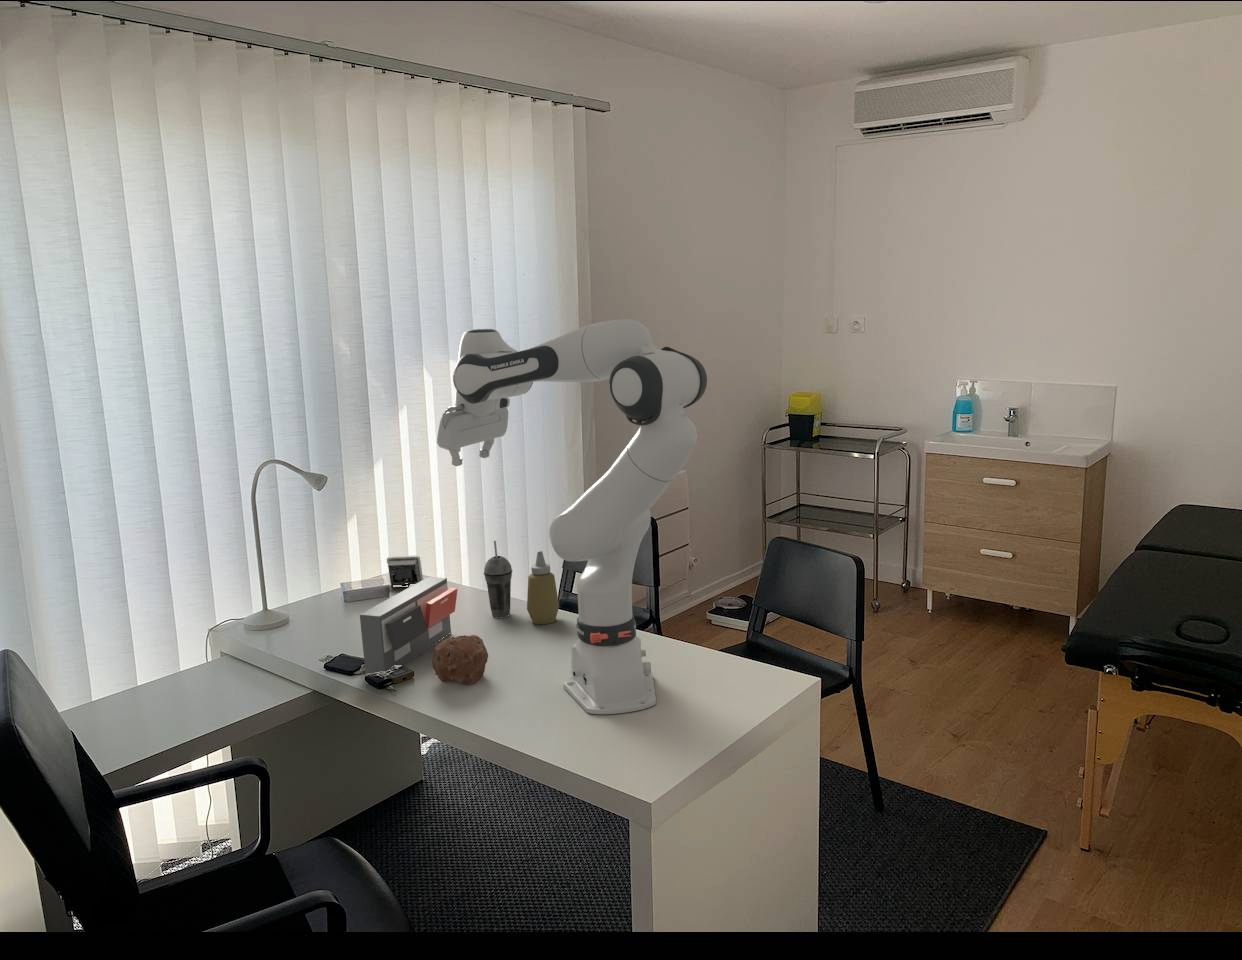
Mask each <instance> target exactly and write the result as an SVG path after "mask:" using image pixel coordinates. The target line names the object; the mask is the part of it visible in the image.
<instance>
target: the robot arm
mask: <svg viewBox="0 0 1242 960" xmlns="http://www.w3.org/2000/svg"><path fill="white" fill-rule="evenodd" d="M455 365H456V366H455V368H454V371H453V375H452V380H453V385H454V388H455V396H454V397H455V399H454V405H453V406H448V407H447V408H446V410H445V411H444V412H443V413H442V416H441V418H440V421H439V426H438V430H437V437H436V438H437V439H436V443H437V446H438V447H439V448H441V449H444V450H447V451H448V452H449V454H450V456H451V465H452V466H453V467H459V466H462V465H463V459H464V458H463V457H461V455H460V452H461V448H464V447H466V446H471V445H474V444H479V443H483V445H482V446H481V447H482V448H480V449H479V454H478V455H479V457H480V458H481V459H488V458H489V457H490V454H491V453H490V452H491V449H492V447H493V446H494V443H495V439H497V438H501V437H504V436H505V434H506V432H507V429H508V424H509V423H508V422H509V408H508V407H510V403H511V400H510V398H513V397H517V396H521V395H524V394H526V393H528V392H529V391H530V389H532V386H533V384H534V382H535V383H537V382H553V383H554V382H563V383H592V382H593V383H594V382H601V381H607V380H609V381H608V382H609V383H608V387H609V392H610V395H611V399H612V400H613V402H614V403H615V406H617V408H618V409H619V410H620V411H621V412H622V413H623V414H624V415H625V417H626V419H627V420H628V422H630V423H631V424H633V425H635V426H639V428H638V430H637V431H636V432H635V434H634V436H633V437H632V438H631V439H630V441H629V442H628V444H627V445H626V446H625V447H624V449H623V450H622V451H621V453H620V454H619V456H618V457H617V458H616V460H615V461H614V462H613V463H612V465H611V466H610V468H609V469H608V470H607V471H606V472H605V473H604V474H603V475H602V476H601V477H600V478H599V479H598V480H597V481H595V483H593V484H592V485H591V486H590V487H589V488H588V489H586V491H585V492H584V493H583V494H581V495H580V497H578V499H577V500H576V501H574V503H572V504H571V505H570V506H569V507H567V509H565V510H564V511H562V512H561V513H560V514H559V515H557V516H556V517H555V518H554V519H553V520H552V521H551V524H550V526H549V536H548V537H549V541H550V544H551V547H552V549H553V551H554V552H555V554H556V555H557V556H558V557H559V558H561V560H564V561H566V562H571V563H572V562H584V561H587V563H586V565H585V568H584V570H582V573H581V575H580V576H579V577H578V580H577V584H576V585H577V587H576V589H577V591H576V592H577V609H578V617H577V618H576V632H577V633H576V634H577V637H578V638H577V639H576V641H575V643H574V644H572V646H571V647H570V668H571V669H570V676H571V677H570V678H568V679H565V680H564V681H563V689H565V691H566V692H567V693H568V694H569V695H570V696H571V697H572V698H573V699H574V700H575V701H576V703H578V704H579V706H580V707H581V708H582V709H583V710H584V711H585V712H586V713H588V714H590V715H591V714H593V715H615V714H625V713H631V712H637V711H641V710H645V709H649V708H652V707H653V706H655V705H657V698H656V692H655V683H654V676H653V672H652V665H651V664H652V663H651V661H643V657H644V658H645V657H647V651H646V649H642V641H641V640H642V639H641V638H640V637H638V636H637V632H636V631H637V629H636V628H637V623H636V620H635V616H634V614H633V587H632V586H633V577H634V576H633V575H634V574H633V573H634V570H635V565H636V564H635V563H636V559H637V556H638V552H639V549H640V545H641V543H642V541H643V538H644V536H645V534H646V533H647V532H648V530H649V528H650V525H651V521H652V519H651V518H652V517H651V515H652V514H651V510H650V508H652V507H653V506H654V505H655V504H656V503H657V501H658V500H659V498H660V497H661V496H662V495H663V494H664V492H665V491H666V490H667V489H668V487H669V486H670V485H671V483H672V482H673V481H674V480H675V479H676V477H677V475H678V474H679V473H680V472H681V470H682V469H683V468H684V466H685V465H686V462H687V461H688V460H689V458H690V456H691V454H692V452H693V449H694V448H695V446H696V444H697V440H698V433H697V432H698V431H697V428H696V426H695V423H694V422H693V421H692V419H690V418H689V417H688V416H687V415H686V413H685V410H684V409H686V408H688V407H690V406H692V405H694V404H696V403H697V402H698V401H699V400H700V399H701V398H702V397H703V395H704V394H705V392H706V389H707V386H708V385H707V384H708V377H707V376H708V375H707V371H706V369H705V367H704V365H703V363H701V361H700V360H698V359H697V358H696V357H694V356H692V355H690V354H687V353H684V352H681V351H679V350H676V349H674V348H673V347H670V346H664V347H662V348H658V347H656V346H655V345H654V343H653V339H652V336H651V333H650V331H649V330H648V328H647V326H645V325H644V324H643V323H642V322H640V321H639V320H635V319H613V320H612V319H611V320H606V321H600V322H596V323H593V324H589V325H588V324H587V325H586V326H582V327H579V328H577V329H574V330H572V331H569V332H567V333H564V334H562V335H560V336H557V337H555V338H553V339H551V340H549V341H546V342H543V343H541V344H538V345H536V346H533V347H530V348H527V349H524V350H520V351H518V350H516V349H514V348H513V347H512V346H511V345H509V344H508V343H507V342H506V341H504V339H503V338H502V335H501V334H500V332H499V331H498V330H496V329H493V328H476V329H469V330H466V331H465V332H463V334H462V336H461V340H460V343H459V350H458V358H457V362H456V364H455Z"/></svg>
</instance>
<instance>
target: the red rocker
mask: <svg viewBox="0 0 1242 960" xmlns="http://www.w3.org/2000/svg"><path fill="white" fill-rule="evenodd" d="M457 598H458V588H457V587H455V586H453V587H450V588H449V589H448V590H447V591H446V592H444V593H442V594H441V595H439V596H437V597H436V598H434V599H432V600H430V601H429V602H427V604H426V613H425V624H426V628H430V627H431V626H433V625H434V624H436V623H438V622H439V621H441V620H442V619H444V618H445V617H447V616H448V615H450V616H451V615H452V614H453V613H454V612H455V611H456V605H457Z"/></svg>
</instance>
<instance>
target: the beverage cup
mask: <svg viewBox="0 0 1242 960" xmlns="http://www.w3.org/2000/svg"><path fill="white" fill-rule="evenodd" d="M493 546H494V555H493V556H492V557H491V558H489V559H487V561H486V562H485V565H484V570H483V575H484V580H485V582H486V587H487V594H488V601H489V606H490V611H491V616H493V618H494V617H498V618H497V619H501V618H500V617H505V618H507V617H506V616H508V615H509V614H510V613H511V612H510V611H511V595H512V594H511V591H512V590H511V587H512V584H511V583H512V577H513V576H512V575H513V569H512V568H513V567H512V565H511V562H510V561H509V560H508V559H507V558H506V557H504V556H501V555H498V548H497V540H493ZM510 615H511V614H510ZM510 615H509V616H510ZM509 616H508V617H509Z"/></svg>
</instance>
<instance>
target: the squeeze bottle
mask: <svg viewBox="0 0 1242 960" xmlns="http://www.w3.org/2000/svg"><path fill="white" fill-rule="evenodd" d="M530 568H531V573H530V574H529V575H528V578H527V598H526V599H527V600H526V602H527V603H526V610H527V613H528V615H529V617H530V620H531V622H532V623H533V624H535V625H548V624H552V623H554V622H556V619H557V616H558V612H559V608H560V602H559V596H558V595H559V594H558V590H557V583H556V578H555V574H554V573H552V572H551V564H549V563H546V560H545V557H544V553H543V551H542V550H538V551H537V553H536V559H535V564H533V565H531V567H530Z"/></svg>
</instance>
